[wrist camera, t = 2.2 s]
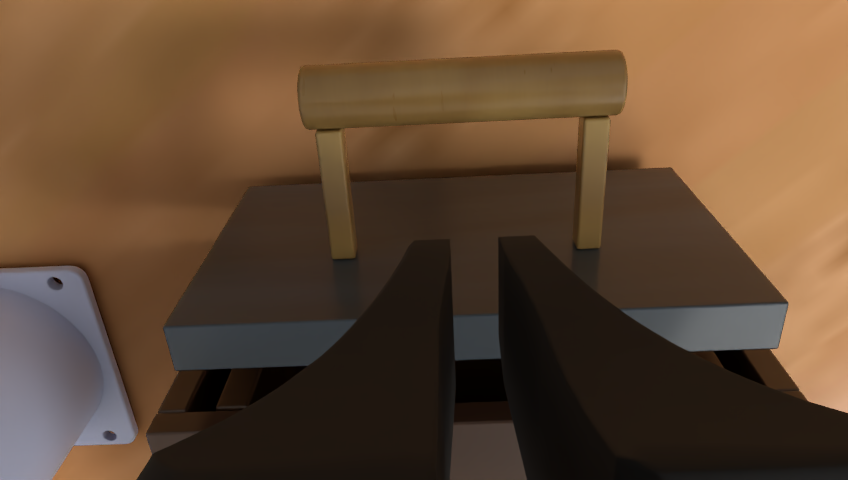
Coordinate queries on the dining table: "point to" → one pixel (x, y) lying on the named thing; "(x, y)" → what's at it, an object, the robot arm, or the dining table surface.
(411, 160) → the dining table surface
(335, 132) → the drawer
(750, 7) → the dining table surface
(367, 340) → the robot arm
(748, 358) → the cabinet
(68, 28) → the dining table surface
